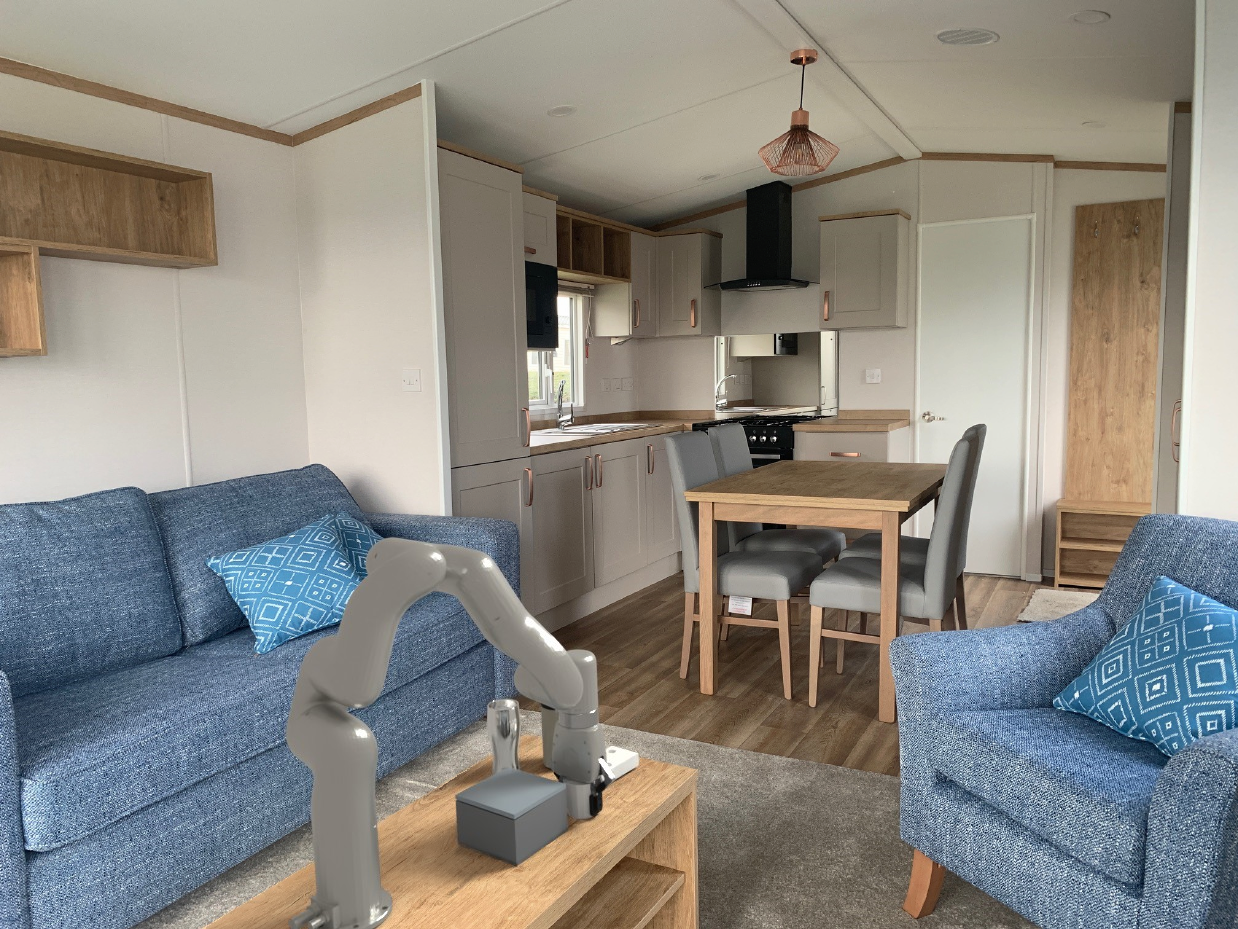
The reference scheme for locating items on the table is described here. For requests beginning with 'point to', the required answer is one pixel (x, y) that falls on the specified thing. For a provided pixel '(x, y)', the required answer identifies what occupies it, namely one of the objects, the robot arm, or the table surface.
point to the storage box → (512, 829)
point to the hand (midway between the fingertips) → (582, 807)
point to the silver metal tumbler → (504, 733)
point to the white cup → (578, 798)
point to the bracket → (620, 760)
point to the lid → (511, 792)
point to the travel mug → (548, 731)
